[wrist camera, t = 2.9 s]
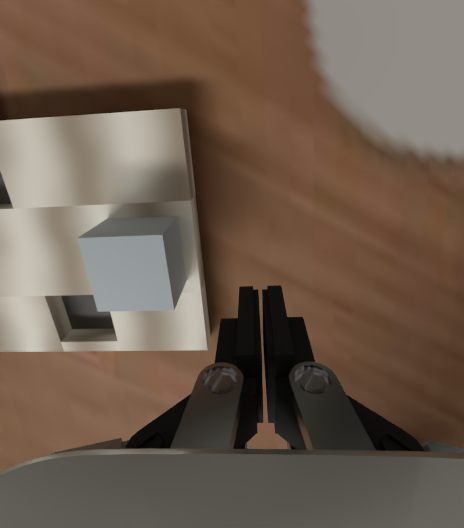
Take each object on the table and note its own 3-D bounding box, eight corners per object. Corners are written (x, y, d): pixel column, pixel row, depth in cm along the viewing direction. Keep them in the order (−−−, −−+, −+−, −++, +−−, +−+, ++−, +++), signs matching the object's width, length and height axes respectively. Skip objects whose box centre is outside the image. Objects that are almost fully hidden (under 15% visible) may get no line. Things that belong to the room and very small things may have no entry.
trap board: (186, 109, 20) (167, 105, 15) (210, 335, 27) (202, 377, 23) (-134, 131, 22) (-235, 133, 17) (-30, 338, 29) (-83, 377, 25)
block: (177, 215, 21) (162, 234, 17) (186, 280, 23) (174, 310, 19) (106, 218, 21) (77, 238, 18) (121, 282, 23) (97, 311, 20)
